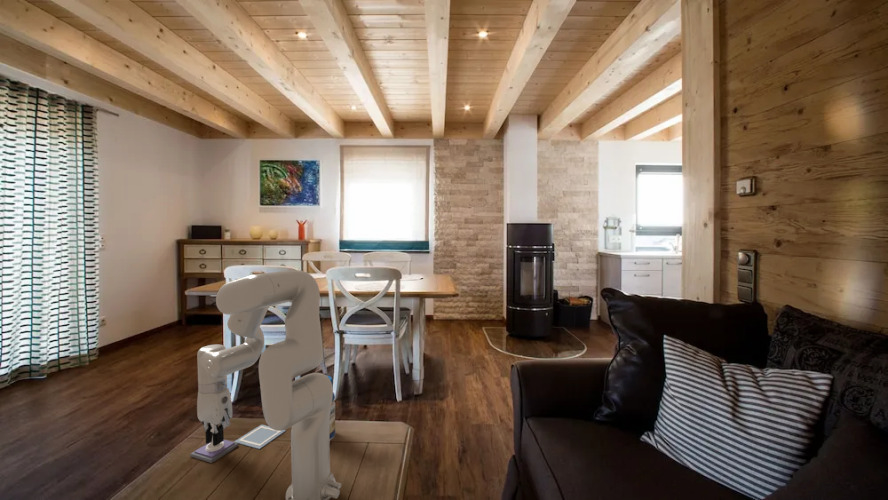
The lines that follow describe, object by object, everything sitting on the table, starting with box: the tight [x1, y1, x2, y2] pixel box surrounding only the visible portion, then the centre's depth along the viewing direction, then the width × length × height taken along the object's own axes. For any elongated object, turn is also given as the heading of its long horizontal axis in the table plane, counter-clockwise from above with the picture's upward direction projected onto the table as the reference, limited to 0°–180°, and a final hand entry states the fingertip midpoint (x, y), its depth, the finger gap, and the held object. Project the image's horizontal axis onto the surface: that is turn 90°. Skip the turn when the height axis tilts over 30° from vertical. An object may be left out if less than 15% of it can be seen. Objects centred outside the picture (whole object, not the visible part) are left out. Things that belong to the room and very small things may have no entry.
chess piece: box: [206, 423, 224, 452], centre depth 111 cm, size 5×5×10 cm
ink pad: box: [189, 438, 239, 464], centre depth 111 cm, size 9×9×1 cm
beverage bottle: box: [326, 375, 336, 441], centre depth 118 cm, size 8×8×20 cm
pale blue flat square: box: [233, 424, 287, 450], centre depth 119 cm, size 11×11×1 cm
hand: (214, 441), depth 111 cm, fingers closed on chess piece
